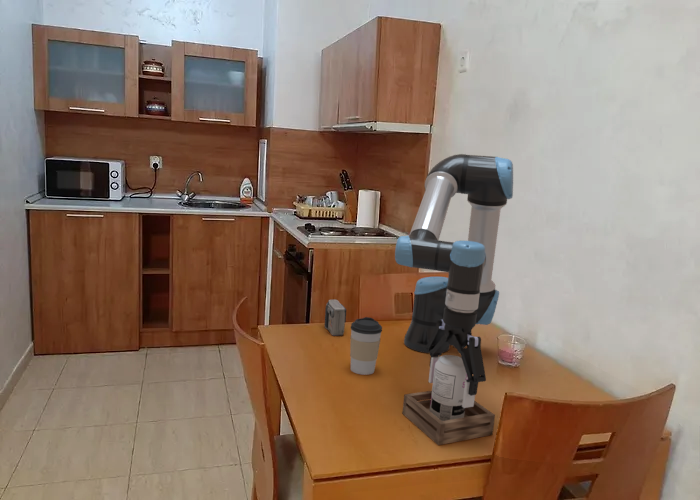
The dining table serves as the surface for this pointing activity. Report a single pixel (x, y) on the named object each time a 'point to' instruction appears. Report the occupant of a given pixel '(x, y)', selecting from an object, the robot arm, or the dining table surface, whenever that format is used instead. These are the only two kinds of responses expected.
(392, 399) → the dining table surface
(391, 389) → the dining table surface
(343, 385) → the dining table surface
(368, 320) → the coffee cup
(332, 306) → the camera
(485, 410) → the crate
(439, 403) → the supplement can
